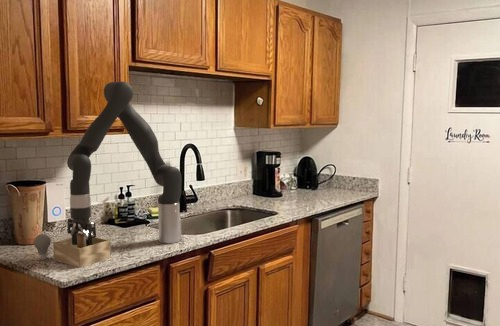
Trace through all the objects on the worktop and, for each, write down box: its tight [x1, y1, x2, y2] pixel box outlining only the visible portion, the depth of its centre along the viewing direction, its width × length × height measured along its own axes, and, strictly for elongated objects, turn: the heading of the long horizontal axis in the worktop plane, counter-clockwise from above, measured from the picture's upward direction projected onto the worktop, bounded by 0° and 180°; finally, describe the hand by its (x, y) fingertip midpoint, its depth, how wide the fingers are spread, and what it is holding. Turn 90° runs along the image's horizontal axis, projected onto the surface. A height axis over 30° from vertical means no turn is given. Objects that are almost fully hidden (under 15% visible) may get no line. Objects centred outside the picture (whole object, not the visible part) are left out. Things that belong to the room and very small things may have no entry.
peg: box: [77, 232, 86, 248], centre depth 185 cm, size 3×3×10 cm
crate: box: [52, 236, 112, 268], centre depth 185 cm, size 14×16×7 cm
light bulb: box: [33, 233, 52, 261], centre depth 184 cm, size 6×6×10 cm
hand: (82, 246), depth 185 cm, fingers open, 8 cm apart
